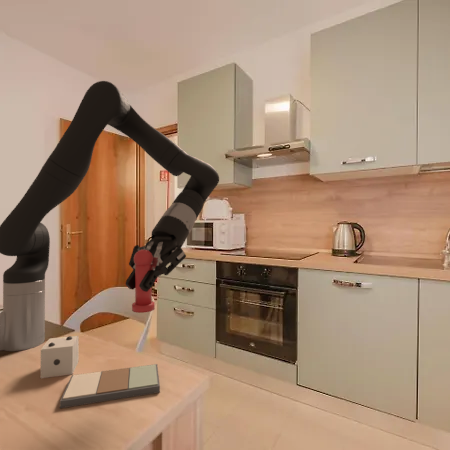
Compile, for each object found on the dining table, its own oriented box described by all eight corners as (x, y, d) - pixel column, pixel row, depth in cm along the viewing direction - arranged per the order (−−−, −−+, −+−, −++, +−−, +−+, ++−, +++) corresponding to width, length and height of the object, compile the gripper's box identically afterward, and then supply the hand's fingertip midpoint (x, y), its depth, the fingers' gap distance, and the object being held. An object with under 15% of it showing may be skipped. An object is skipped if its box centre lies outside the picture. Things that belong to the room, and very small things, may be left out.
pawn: (131, 313, 55) (131, 250, 55) (132, 307, 59) (132, 248, 59) (155, 311, 56) (155, 250, 56) (154, 305, 61) (154, 248, 61)
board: (59, 408, 50) (59, 400, 50) (71, 381, 58) (71, 374, 58) (159, 392, 54) (159, 384, 54) (157, 369, 63) (157, 363, 63)
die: (39, 379, 59) (39, 347, 59) (49, 364, 65) (49, 335, 65) (71, 375, 60) (71, 344, 60) (78, 361, 67) (78, 333, 67)
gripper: (144, 215, 68) (100, 273, 57) (193, 213, 61) (153, 280, 50) (159, 236, 72) (121, 294, 62) (206, 237, 66) (172, 303, 55)
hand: (136, 287), depth 56 cm, fingers closed on pawn, 3 cm apart
